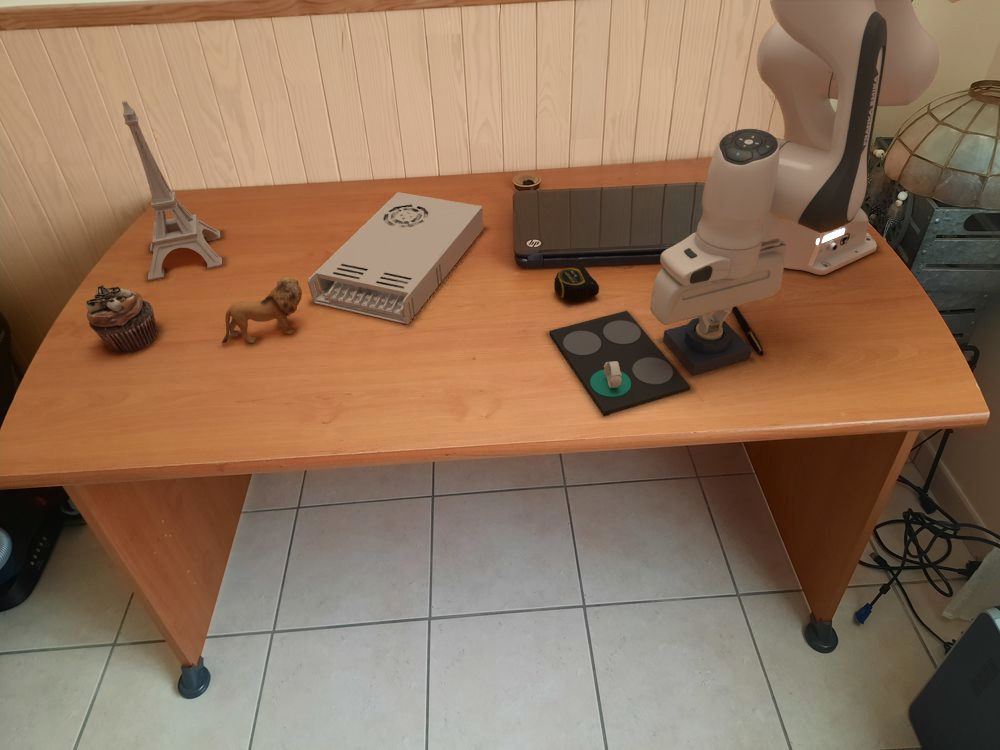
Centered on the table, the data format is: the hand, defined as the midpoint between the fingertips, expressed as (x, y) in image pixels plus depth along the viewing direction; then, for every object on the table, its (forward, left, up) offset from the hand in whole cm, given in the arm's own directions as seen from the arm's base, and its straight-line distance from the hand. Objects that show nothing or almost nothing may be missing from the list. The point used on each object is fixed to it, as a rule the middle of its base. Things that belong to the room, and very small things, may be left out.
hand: (709, 329), depth 106 cm
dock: (0, 0, -4) cm, 4 cm away
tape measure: (+12, -22, -5) cm, 26 cm away
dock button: (0, 0, -2) cm, 2 cm away
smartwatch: (+17, +2, -4) cm, 18 cm away
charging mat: (+14, -3, -4) cm, 15 cm away
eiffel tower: (+77, -63, -5) cm, 100 cm away
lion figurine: (+64, -32, -5) cm, 72 cm away
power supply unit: (+38, -43, -5) cm, 58 cm away
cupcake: (+86, -39, -5) cm, 94 cm away
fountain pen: (-9, -2, -5) cm, 10 cm away
